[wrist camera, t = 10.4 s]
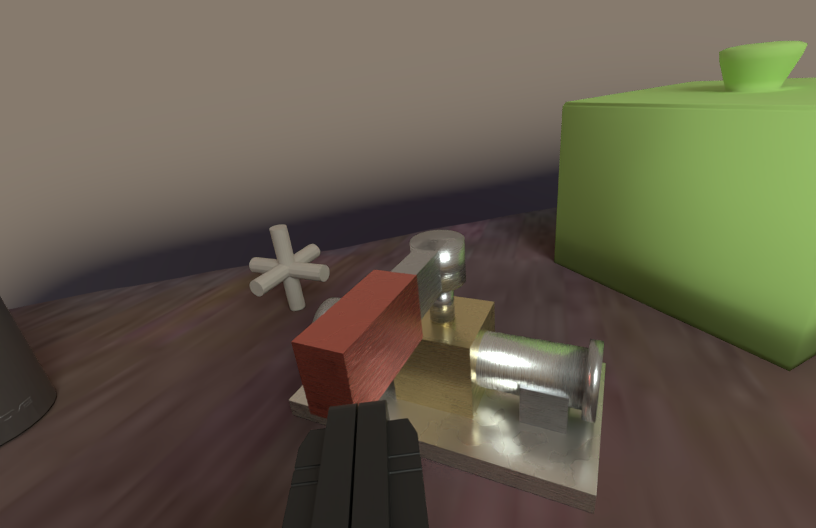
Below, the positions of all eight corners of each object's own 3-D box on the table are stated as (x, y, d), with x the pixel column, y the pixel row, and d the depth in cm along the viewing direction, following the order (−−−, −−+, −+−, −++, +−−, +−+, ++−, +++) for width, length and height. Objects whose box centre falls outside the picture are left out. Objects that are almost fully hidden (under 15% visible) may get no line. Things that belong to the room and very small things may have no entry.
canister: (916, 292, 39) (1049, 12, 30) (789, 372, 32) (912, 31, 22) (666, 224, 60) (696, 47, 51) (554, 263, 53) (564, 63, 43)
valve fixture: (292, 414, 33) (261, 305, 29) (368, 331, 42) (353, 241, 38) (593, 513, 23) (613, 372, 19) (603, 378, 33) (618, 264, 29)
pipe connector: (235, 322, 47) (208, 241, 43) (291, 282, 55) (273, 211, 51) (305, 337, 43) (283, 249, 38) (355, 291, 51) (341, 214, 46)
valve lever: (426, 272, 31) (422, 221, 29) (472, 277, 29) (471, 224, 28) (301, 410, 19) (282, 339, 17) (368, 432, 18) (354, 356, 16)
